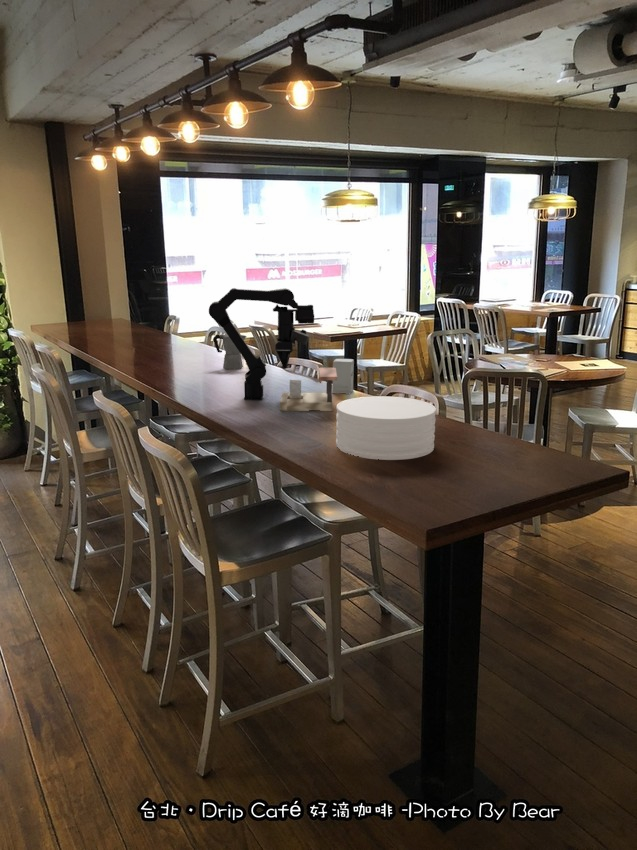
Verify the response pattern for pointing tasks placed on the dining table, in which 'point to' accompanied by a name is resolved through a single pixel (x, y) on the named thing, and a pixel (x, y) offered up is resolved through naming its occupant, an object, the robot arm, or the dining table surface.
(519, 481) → the dining table surface
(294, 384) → the peg
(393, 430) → the plate stack
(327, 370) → the socket block
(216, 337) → the coffeepot
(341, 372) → the supplement box
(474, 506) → the dining table surface
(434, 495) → the dining table surface
